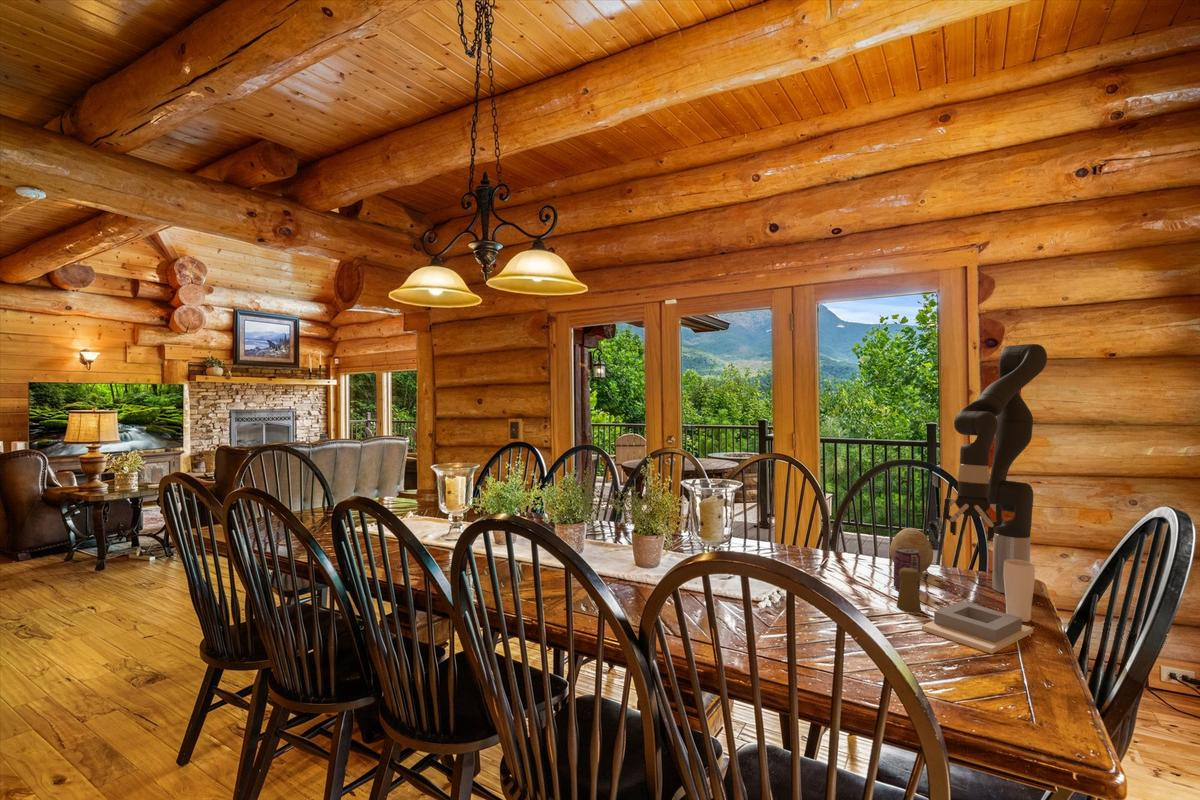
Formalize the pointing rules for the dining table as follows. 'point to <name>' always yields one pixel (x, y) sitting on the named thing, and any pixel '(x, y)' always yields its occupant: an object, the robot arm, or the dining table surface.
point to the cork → (909, 590)
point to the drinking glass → (1019, 588)
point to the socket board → (974, 639)
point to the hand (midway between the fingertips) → (971, 537)
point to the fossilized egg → (914, 546)
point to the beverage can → (905, 563)
